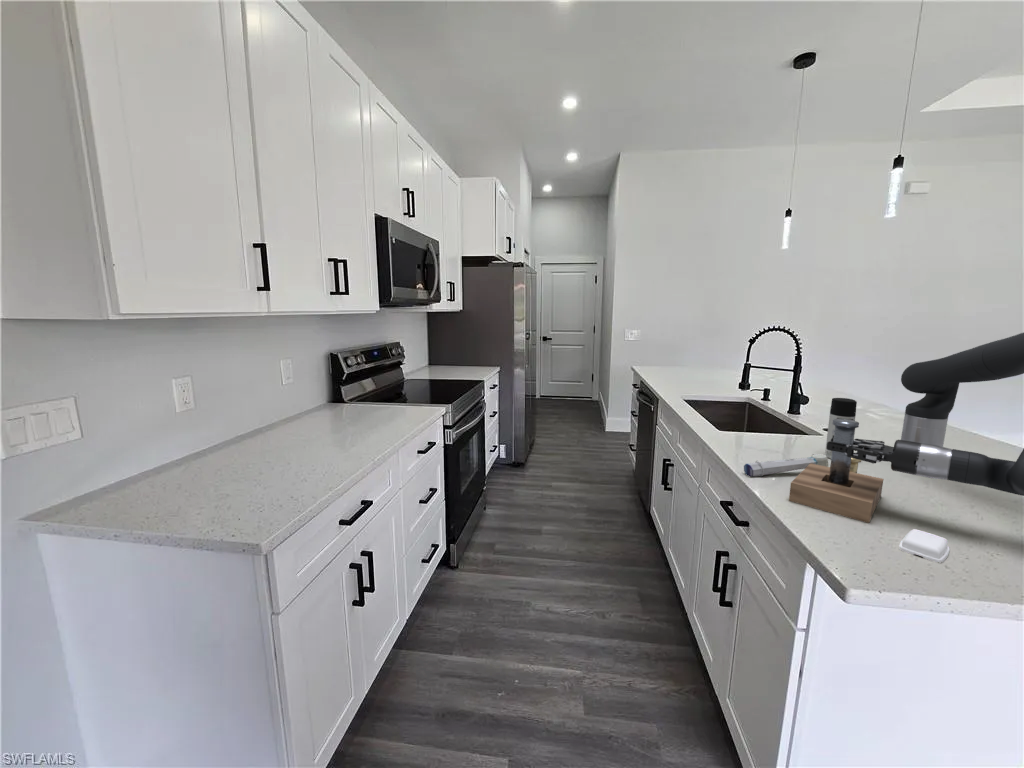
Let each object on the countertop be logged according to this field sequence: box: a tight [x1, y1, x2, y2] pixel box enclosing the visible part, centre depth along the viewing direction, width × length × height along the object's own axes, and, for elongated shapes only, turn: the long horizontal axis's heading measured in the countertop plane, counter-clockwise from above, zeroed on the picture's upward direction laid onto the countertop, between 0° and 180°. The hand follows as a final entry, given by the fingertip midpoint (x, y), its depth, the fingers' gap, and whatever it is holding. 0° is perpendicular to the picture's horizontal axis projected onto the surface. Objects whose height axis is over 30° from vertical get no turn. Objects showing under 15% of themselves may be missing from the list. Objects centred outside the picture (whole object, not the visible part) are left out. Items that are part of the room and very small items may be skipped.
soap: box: [898, 528, 951, 564], centre depth 85 cm, size 9×7×3 cm
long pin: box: [829, 419, 860, 484], centre depth 106 cm, size 5×5×16 cm
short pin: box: [850, 458, 862, 473], centre depth 118 cm, size 5×5×8 cm
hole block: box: [788, 463, 884, 524], centre depth 108 cm, size 20×16×5 cm
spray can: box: [824, 397, 858, 460], centre depth 137 cm, size 7×7×20 cm
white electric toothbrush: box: [743, 453, 831, 478], centre depth 124 cm, size 5×7×25 cm
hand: (829, 443), depth 108 cm, fingers closed on long pin, 4 cm apart
